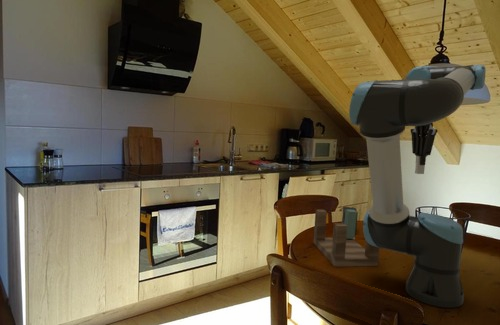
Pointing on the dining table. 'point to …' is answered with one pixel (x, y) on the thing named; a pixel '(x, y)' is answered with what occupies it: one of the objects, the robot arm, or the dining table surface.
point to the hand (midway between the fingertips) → (419, 173)
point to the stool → (342, 245)
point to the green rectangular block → (350, 223)
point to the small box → (344, 215)
